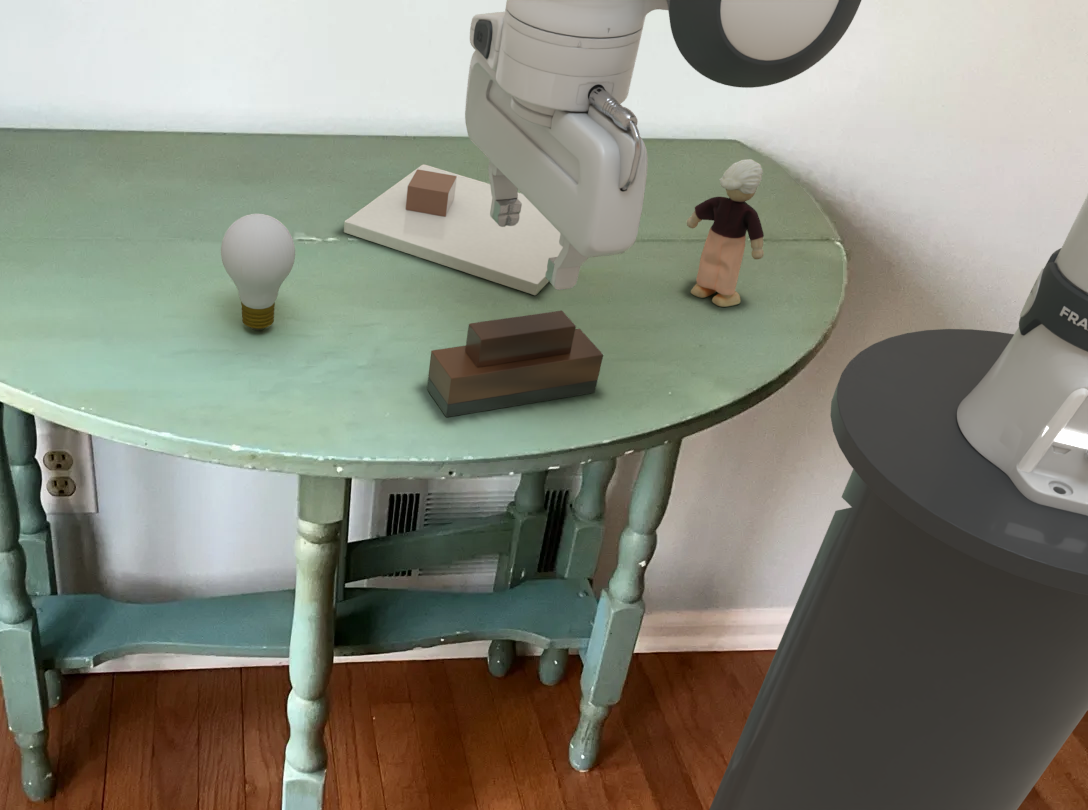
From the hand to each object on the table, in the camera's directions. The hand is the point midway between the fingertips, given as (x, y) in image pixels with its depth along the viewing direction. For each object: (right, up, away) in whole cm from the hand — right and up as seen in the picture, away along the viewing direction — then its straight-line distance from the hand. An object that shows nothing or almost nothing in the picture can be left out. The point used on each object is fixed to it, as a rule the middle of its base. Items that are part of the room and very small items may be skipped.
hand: (530, 252), depth 87 cm
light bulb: (-21, -4, +13) cm, 25 cm away
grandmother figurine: (+19, +1, +22) cm, 29 cm away
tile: (-2, +9, +28) cm, 30 cm away
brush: (0, -9, +8) cm, 12 cm away
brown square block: (-6, +12, +29) cm, 32 cm away
